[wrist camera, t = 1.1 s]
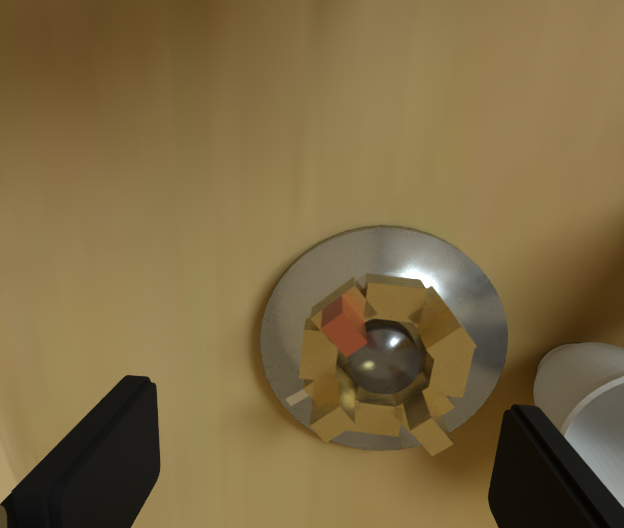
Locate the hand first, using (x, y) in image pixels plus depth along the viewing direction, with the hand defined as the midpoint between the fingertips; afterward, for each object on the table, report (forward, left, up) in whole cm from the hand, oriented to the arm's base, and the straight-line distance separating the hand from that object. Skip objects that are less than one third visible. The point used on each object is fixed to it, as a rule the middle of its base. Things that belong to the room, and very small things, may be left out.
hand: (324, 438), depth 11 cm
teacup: (-10, +25, -25) cm, 37 cm away
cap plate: (+3, +11, -25) cm, 28 cm away
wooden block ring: (+3, +11, -23) cm, 26 cm away
